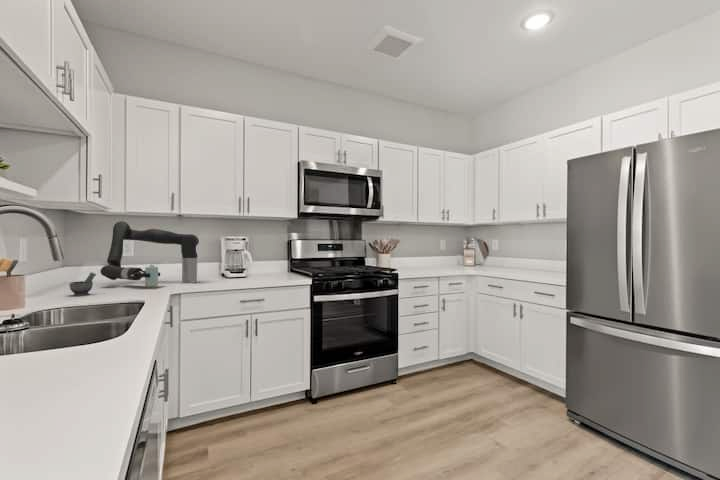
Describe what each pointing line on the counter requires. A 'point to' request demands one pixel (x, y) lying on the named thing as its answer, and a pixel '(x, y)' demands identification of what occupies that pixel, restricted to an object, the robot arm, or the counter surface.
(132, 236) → the robot arm
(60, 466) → the counter surface
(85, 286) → the mortar and pestle
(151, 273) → the green canister
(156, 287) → the board
